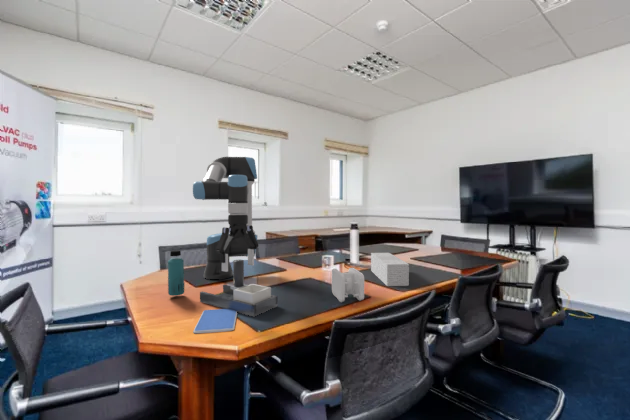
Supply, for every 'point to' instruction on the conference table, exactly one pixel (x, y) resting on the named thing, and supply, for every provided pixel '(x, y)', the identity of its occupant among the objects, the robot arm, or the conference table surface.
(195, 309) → the conference table surface
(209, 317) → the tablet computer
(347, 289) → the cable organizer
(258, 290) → the open tray with handle
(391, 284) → the grey rectangular block
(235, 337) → the conference table surface
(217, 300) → the bay
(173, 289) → the beverage bottle
